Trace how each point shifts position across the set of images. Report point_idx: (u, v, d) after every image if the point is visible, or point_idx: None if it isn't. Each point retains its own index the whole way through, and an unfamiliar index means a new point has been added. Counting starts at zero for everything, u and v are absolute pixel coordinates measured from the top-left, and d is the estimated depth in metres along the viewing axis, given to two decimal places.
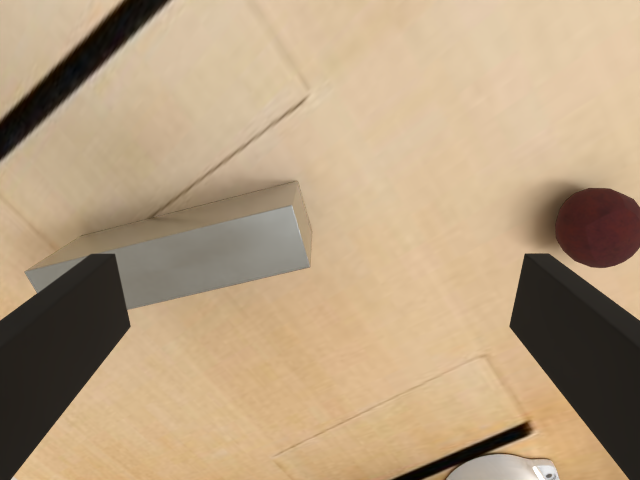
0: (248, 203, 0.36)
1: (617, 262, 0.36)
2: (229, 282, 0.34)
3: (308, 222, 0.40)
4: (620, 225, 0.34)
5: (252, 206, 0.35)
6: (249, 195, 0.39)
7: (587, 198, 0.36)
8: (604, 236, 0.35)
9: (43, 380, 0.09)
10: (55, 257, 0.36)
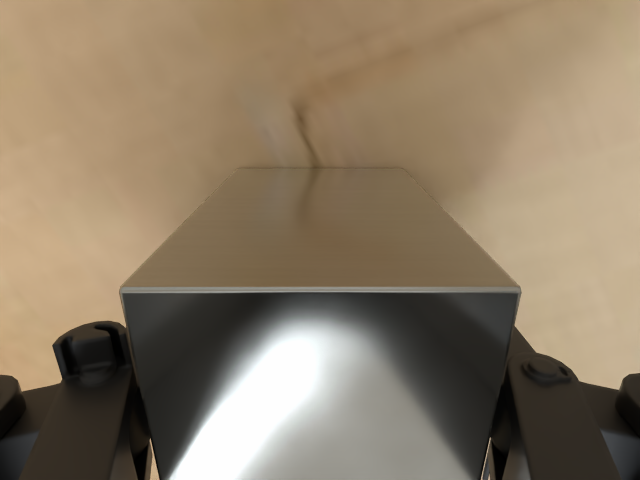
0: None
1: None
2: None
3: None
4: None
5: None
6: None
7: None
8: None
9: None
10: None
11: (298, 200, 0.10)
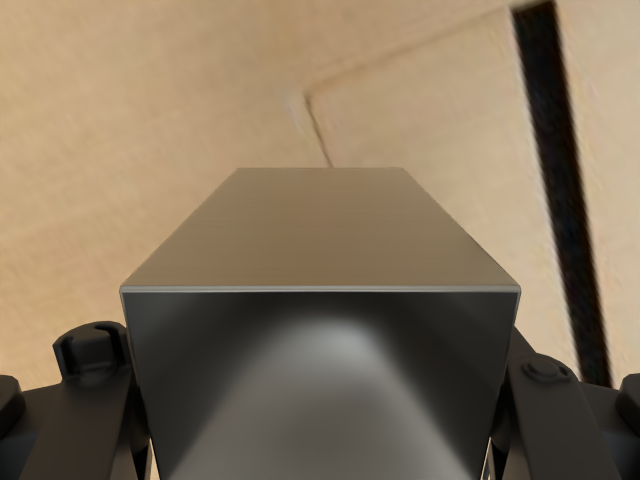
0: None
1: None
2: None
3: None
4: None
5: None
6: None
7: None
8: None
9: None
10: None
11: (298, 199, 0.10)
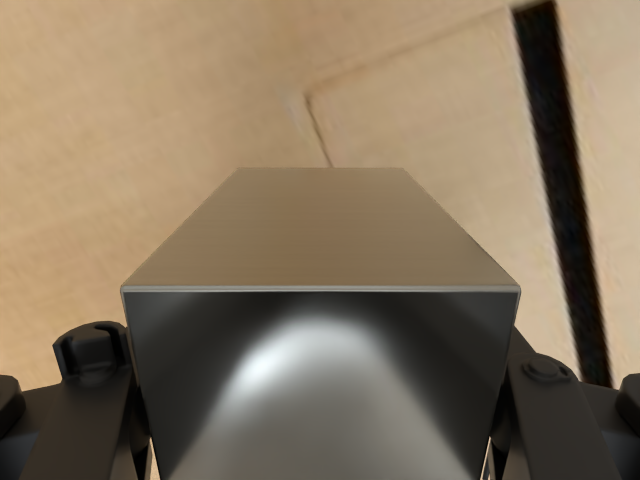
0: None
1: None
2: None
3: None
4: None
5: None
6: None
7: None
8: None
9: None
10: None
11: (299, 199, 0.10)
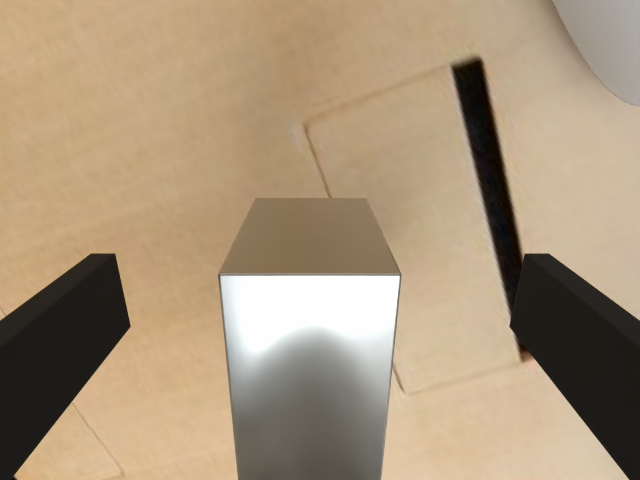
0: None
1: None
2: None
3: None
4: None
5: None
6: None
7: None
8: None
9: (43, 380, 0.09)
10: None
11: (298, 224, 0.16)
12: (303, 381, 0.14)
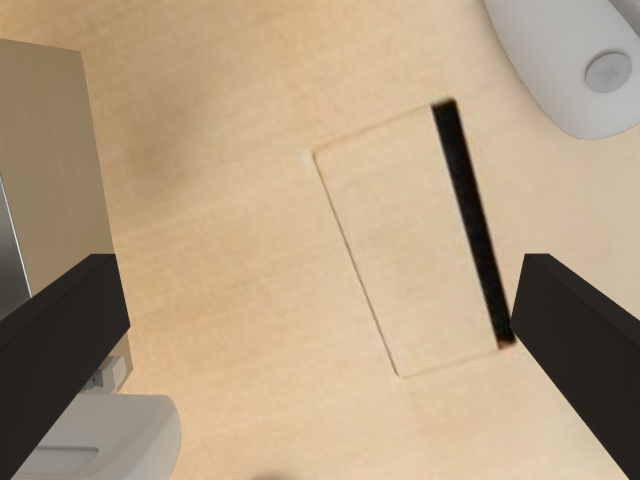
0: None
1: None
2: None
3: None
4: None
5: None
6: None
7: None
8: None
9: (43, 380, 0.09)
10: (10, 75, 0.19)
11: None
12: None
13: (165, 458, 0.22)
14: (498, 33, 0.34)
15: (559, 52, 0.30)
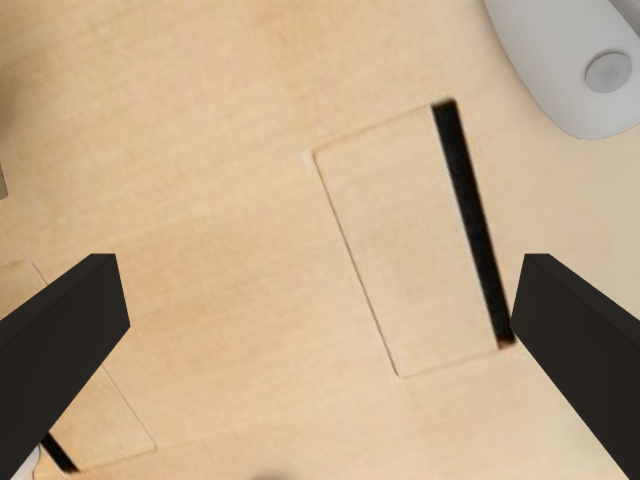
0: None
1: None
2: None
3: None
4: None
5: None
6: None
7: None
8: None
9: (43, 380, 0.09)
10: None
11: None
12: None
13: None
14: (498, 33, 0.34)
15: (559, 52, 0.30)
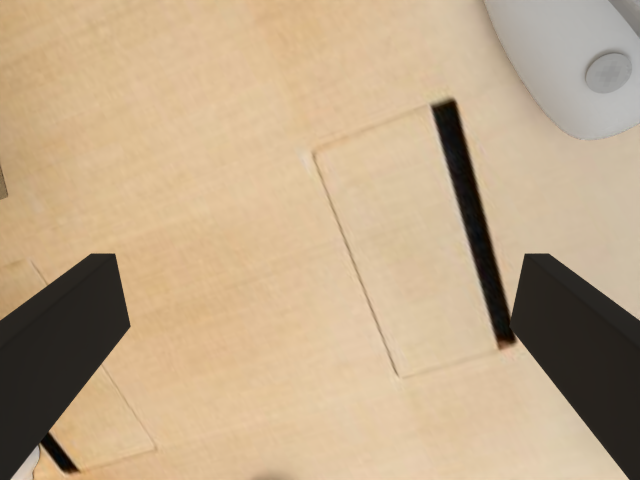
0: None
1: None
2: None
3: None
4: None
5: None
6: None
7: None
8: None
9: (43, 380, 0.09)
10: None
11: None
12: None
13: None
14: (498, 33, 0.34)
15: (559, 52, 0.30)
